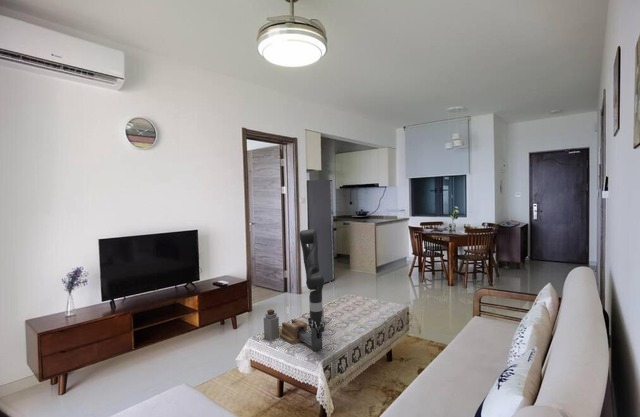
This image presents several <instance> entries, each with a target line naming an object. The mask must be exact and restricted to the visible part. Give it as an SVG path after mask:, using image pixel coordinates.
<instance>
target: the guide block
mask: <svg viewBox="0 0 640 417" xmlns="http://www.w3.org/2000/svg"><path fill="white" fill-rule="evenodd" d="M307 325H308V324H307V322H305V321H302V320H298V319H295V318H293V319H291V323H287V322H285V321H283V322H281V327H282V334H279V338H280V339H282V340H283V341H285V342H286V343H288V344H290V345H294V344H297V343H299V342H302V341H301V340H299V339H298V338H297V328H301V329H303V330H305V331H307V332H308V326H307Z"/></svg>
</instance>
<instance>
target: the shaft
mask: <svg viewBox="0 0 640 417" xmlns="http://www.w3.org/2000/svg"><path fill="white" fill-rule="evenodd" d="M318 327H319V326H318ZM319 330H320V328H319ZM317 333H318V332H317V329H316V326H313V327H311V328H310V332H309V331H308V330H307V331H305V330H303V329H301V328H297V338H298V339H299V340H301V341H300V342H303V343H306V344H307V345H309V346H311V350H312V351H314V352H318V351H321V350H323V332H321V338H320V339H318V337H317Z"/></svg>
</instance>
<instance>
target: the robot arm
mask: <svg viewBox="0 0 640 417" xmlns="http://www.w3.org/2000/svg"><path fill="white" fill-rule="evenodd" d="M317 234H318V233H317V230H316V229H315V228H311V229H310V228H309V229H302V230H300V231H299V241H300V245H301V250H302V257H303V258H302V260H303V265H304V270H305V277H306V278H305V279H306V282H305V284H306V287H307V289H308V290H311V291H310V292H309V296H308V300H309V301H308V302H309V303H308V304H309V317H308V318H307V321H308V326H309V329H311V327H313V326H316V329H317V332H318V333H317V337H318V339H320V338H321V332H322V333H323V332H324V331H325V328H326V323H325V311H324V307H323V288H324V285H325V278H324V275H321V274H318V273H320V265H319V262H320V261H319V255H318V254H319V253H318V251H319V246H318V245H319V244H318V242H319V241H318V235H317ZM311 244H312V247H309V246H308V245H311ZM315 274H317V275H315ZM318 326H319V327H318ZM319 328H320V330H319Z"/></svg>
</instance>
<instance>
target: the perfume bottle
mask: <svg viewBox="0 0 640 417" xmlns="http://www.w3.org/2000/svg"><path fill="white" fill-rule="evenodd" d="M279 324H280V322H279V316H278V313H277V312H275V310H274V309H271V308H270V309H268V310H267V311H266V313H264V317H263V336H264V337H263V339H265V340H268V341H270V342H272V341H274V340H277V339H279V338H280V335H279V327H280V325H279Z"/></svg>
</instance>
